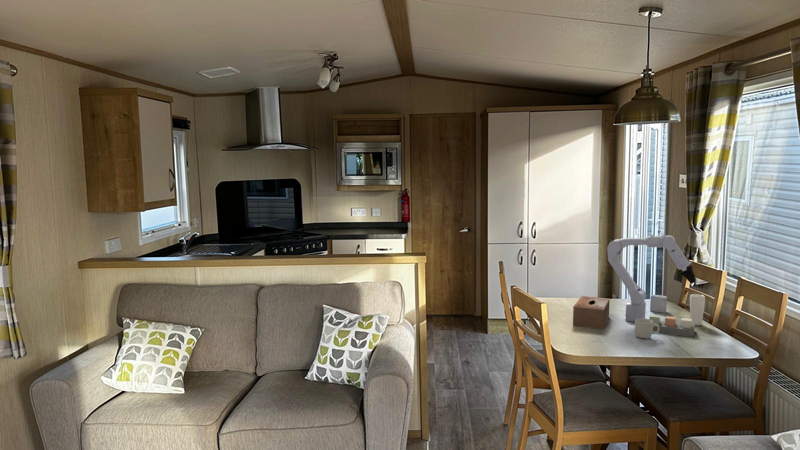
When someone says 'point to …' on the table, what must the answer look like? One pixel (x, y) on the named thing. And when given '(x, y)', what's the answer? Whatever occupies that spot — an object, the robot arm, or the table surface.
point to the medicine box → (658, 303)
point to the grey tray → (675, 329)
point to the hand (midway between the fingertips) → (693, 281)
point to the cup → (645, 328)
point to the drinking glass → (697, 308)
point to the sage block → (655, 318)
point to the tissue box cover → (591, 312)
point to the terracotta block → (670, 321)
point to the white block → (686, 323)
